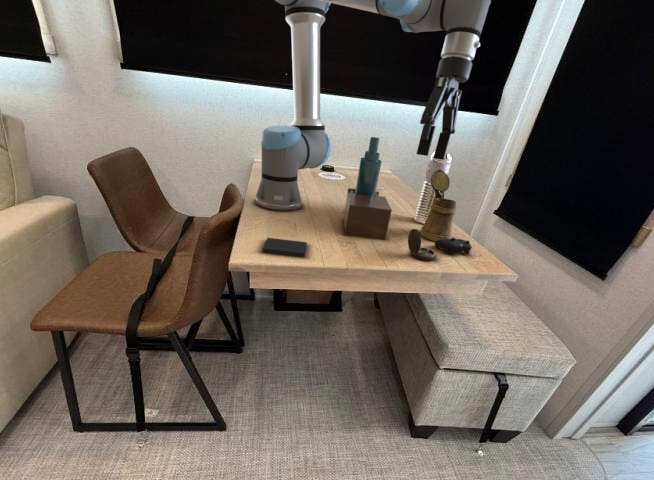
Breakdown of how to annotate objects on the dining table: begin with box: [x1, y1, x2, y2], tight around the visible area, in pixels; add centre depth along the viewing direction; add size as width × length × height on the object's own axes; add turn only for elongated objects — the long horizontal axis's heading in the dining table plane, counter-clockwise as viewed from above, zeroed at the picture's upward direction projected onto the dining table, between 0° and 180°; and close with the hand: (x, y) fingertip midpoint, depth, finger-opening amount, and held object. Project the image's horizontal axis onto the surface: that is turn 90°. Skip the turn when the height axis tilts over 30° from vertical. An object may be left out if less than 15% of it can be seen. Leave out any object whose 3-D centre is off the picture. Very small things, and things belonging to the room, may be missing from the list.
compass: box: [407, 228, 437, 262], centre depth 85 cm, size 8×8×7 cm
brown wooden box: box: [343, 191, 393, 240], centre depth 97 cm, size 14×12×9 cm
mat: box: [262, 237, 308, 258], centre depth 80 cm, size 7×10×1 cm
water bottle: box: [413, 141, 453, 225], centre depth 106 cm, size 7×7×25 cm
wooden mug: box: [419, 169, 457, 242], centre depth 98 cm, size 9×14×18 cm, turn 6°
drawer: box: [344, 187, 380, 209], centre depth 108 cm, size 17×10×7 cm, turn 178°
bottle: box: [355, 136, 382, 196], centre depth 102 cm, size 6×6×22 cm
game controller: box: [434, 237, 472, 255], centre depth 91 cm, size 10×5×6 cm
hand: (430, 157), depth 86 cm, fingers open, 13 cm apart
